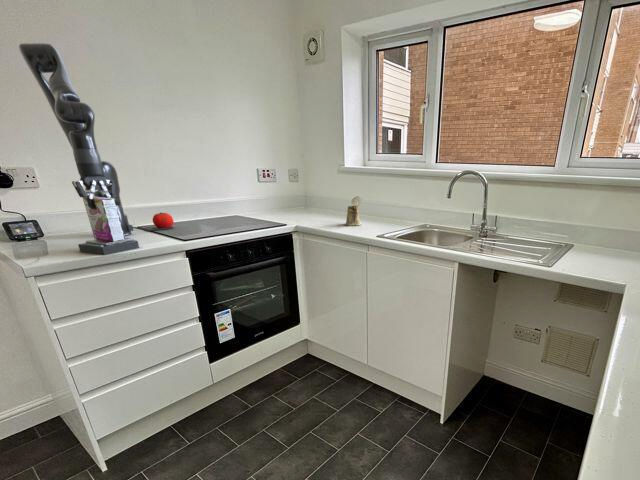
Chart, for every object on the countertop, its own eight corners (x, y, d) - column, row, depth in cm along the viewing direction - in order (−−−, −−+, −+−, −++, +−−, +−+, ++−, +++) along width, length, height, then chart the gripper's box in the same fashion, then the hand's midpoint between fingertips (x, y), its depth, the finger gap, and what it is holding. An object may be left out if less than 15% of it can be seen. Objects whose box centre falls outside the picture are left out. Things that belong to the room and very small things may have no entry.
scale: (116, 244, 150) (114, 237, 149) (139, 247, 147) (137, 239, 146) (80, 251, 138) (77, 243, 136) (104, 255, 134) (102, 246, 133)
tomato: (163, 226, 192) (159, 210, 189) (180, 227, 191) (177, 211, 188) (149, 229, 184) (145, 213, 180) (167, 230, 182) (163, 214, 179)
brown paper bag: (350, 227, 209) (350, 196, 202) (343, 224, 220) (343, 194, 213) (364, 226, 212) (364, 196, 206) (357, 223, 224) (356, 194, 217)
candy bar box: (93, 239, 141) (81, 197, 135) (106, 237, 145) (95, 196, 139) (112, 242, 138) (101, 199, 132) (125, 239, 142) (115, 198, 136)
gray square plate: (114, 237, 148) (113, 236, 148) (134, 240, 145) (133, 238, 145) (86, 242, 138) (85, 240, 138) (106, 245, 135) (105, 243, 135)
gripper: (74, 161, 123) (88, 211, 130) (115, 162, 136) (126, 207, 142) (59, 161, 125) (73, 209, 132) (101, 161, 138) (113, 206, 144)
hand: (101, 208), depth 137 cm, fingers closed on candy bar box, 5 cm apart
